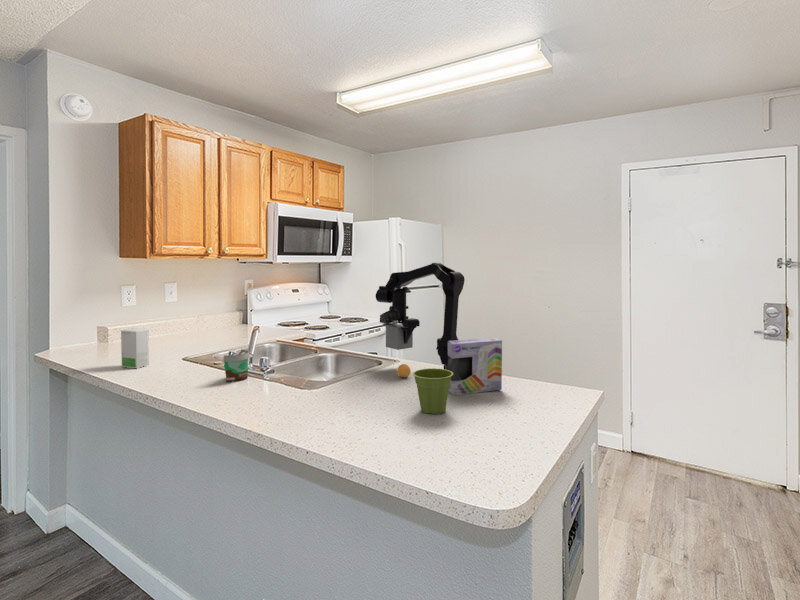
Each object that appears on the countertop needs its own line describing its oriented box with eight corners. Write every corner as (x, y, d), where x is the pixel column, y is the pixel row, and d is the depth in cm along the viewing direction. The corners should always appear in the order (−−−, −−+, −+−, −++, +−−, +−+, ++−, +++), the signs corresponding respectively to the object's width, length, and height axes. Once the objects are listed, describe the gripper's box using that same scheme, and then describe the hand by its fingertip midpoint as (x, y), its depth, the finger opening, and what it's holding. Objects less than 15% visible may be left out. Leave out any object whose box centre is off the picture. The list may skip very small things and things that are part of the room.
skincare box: (121, 367, 184) (119, 330, 182) (135, 364, 190) (133, 327, 189) (137, 369, 181) (135, 331, 180) (150, 365, 188) (148, 328, 186)
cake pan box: (449, 396, 145) (450, 342, 144) (444, 391, 150) (444, 339, 148) (502, 391, 150) (503, 339, 149) (495, 387, 155) (496, 337, 154)
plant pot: (428, 401, 139) (428, 366, 138) (460, 409, 132) (461, 372, 131) (404, 411, 130) (404, 373, 129) (437, 420, 123) (438, 380, 122)
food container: (239, 384, 159) (238, 356, 158) (223, 383, 160) (223, 355, 159) (257, 375, 171) (256, 349, 170) (242, 374, 172) (241, 349, 172)
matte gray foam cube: (412, 347, 180) (412, 325, 179) (397, 349, 175) (397, 327, 174) (400, 344, 186) (400, 323, 185) (385, 346, 181) (385, 325, 180)
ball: (413, 377, 168) (413, 364, 168) (403, 379, 165) (403, 366, 164) (404, 374, 172) (404, 362, 171) (394, 377, 169) (394, 364, 168)
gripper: (369, 303, 181) (369, 341, 182) (398, 306, 167) (398, 348, 168) (390, 301, 188) (390, 338, 189) (420, 305, 174) (420, 344, 175)
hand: (399, 342), depth 180 cm, fingers closed on matte gray foam cube, 8 cm apart
